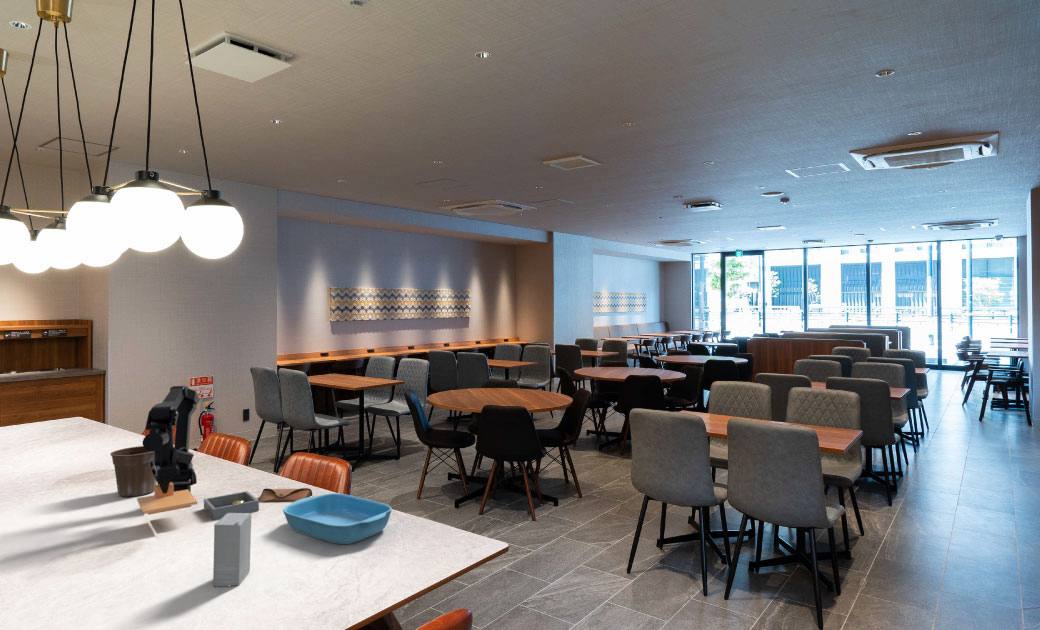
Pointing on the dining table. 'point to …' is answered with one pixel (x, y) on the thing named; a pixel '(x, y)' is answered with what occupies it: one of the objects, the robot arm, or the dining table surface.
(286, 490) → the sunglasses case
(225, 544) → the skincare box
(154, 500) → the lid
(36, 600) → the dining table surface
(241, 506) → the tub
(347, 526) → the casserole dish
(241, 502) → the part
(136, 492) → the plant pot
